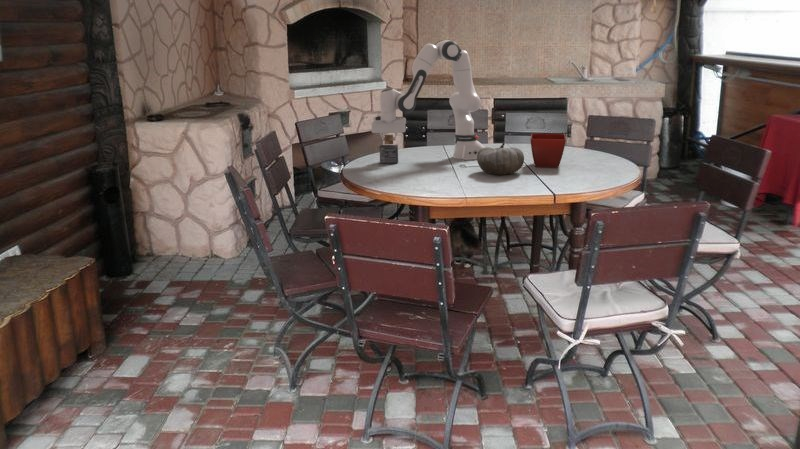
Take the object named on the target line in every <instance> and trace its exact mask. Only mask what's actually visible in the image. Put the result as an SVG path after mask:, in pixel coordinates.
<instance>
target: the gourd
mask: <svg viewBox="0 0 800 449" xmlns="http://www.w3.org/2000/svg"><path fill="white" fill-rule="evenodd" d="M505 144H506V143H505V142H502V144H501V145H500V146H499V147H490V146H485V147H484V148H481V149H480V150H479V151H478V155H477V159H476V161H477V164H478V166H479V168H480V169H481V171H483V172H484V173H489V174H495V175H496V176H505V175H509V174H514V173H516V172H518V171H519V170H520V169H521V168H522V167H523V166H524V164H525V155H524V153H523V151H522V149H520V148H518V147H516V146H515V147H514V146H513V147H504V146H505Z"/></svg>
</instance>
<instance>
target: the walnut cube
mask: <svg viewBox="0 0 800 449" xmlns="http://www.w3.org/2000/svg"><path fill="white" fill-rule="evenodd" d="M383 137H384V139H385V141H384V145H394V140H393V137H394V134H393V133H390V134H384V136H383Z"/></svg>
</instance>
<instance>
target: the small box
mask: <svg viewBox="0 0 800 449" xmlns="http://www.w3.org/2000/svg"><path fill="white" fill-rule="evenodd" d="M378 148H379V164H380V165H381V164H382V165H387V164H388V165H393V164H394V165H395V164H398V163H399V144H381V145H379V147H378Z"/></svg>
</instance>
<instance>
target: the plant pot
mask: <svg viewBox="0 0 800 449" xmlns="http://www.w3.org/2000/svg"><path fill="white" fill-rule="evenodd" d="M566 140H567V139H566V134H565V133H533V132H532V133H531V134H530V145H531V146H530V148H531V153H532V154H531V155H532V160H533V164H534V167H535V168H551V169H553V168H556V169H557V168H559V167H560V165H561V161H562V159H563V155H564V150H565V146H566Z"/></svg>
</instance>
